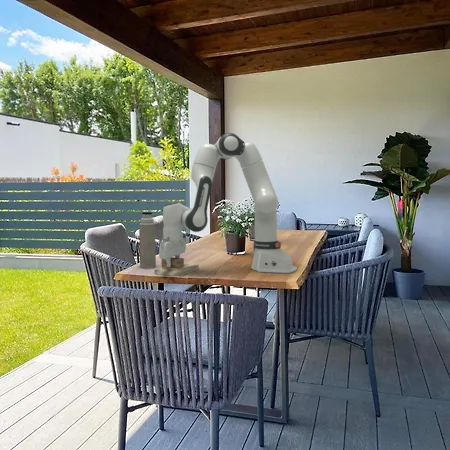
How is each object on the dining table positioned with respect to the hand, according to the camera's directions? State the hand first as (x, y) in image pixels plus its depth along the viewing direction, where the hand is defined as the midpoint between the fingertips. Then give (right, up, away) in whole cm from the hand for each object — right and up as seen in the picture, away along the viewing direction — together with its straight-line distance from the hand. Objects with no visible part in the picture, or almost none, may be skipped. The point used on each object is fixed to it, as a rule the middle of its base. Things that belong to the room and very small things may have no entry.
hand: (172, 265), depth 215 cm
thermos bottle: (-15, -2, +15) cm, 21 cm away
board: (+2, -3, +5) cm, 6 cm away
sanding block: (0, -2, 0) cm, 2 cm away
